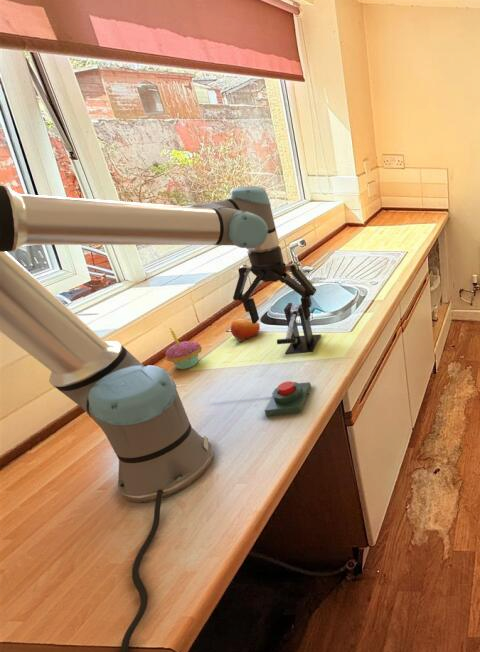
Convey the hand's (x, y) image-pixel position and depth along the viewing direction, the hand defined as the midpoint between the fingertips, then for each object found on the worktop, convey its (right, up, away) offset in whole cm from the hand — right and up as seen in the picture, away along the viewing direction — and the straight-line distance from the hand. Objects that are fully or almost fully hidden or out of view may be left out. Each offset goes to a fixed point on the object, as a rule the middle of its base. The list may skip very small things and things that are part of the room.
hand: (282, 319), depth 112 cm
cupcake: (-32, -14, +7) cm, 36 cm away
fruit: (-24, -8, +21) cm, 33 cm away
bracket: (-2, -10, +17) cm, 19 cm away
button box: (+7, -21, -8) cm, 24 cm away
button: (+7, -18, -9) cm, 21 cm away
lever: (-1, -3, +8) cm, 9 cm away
